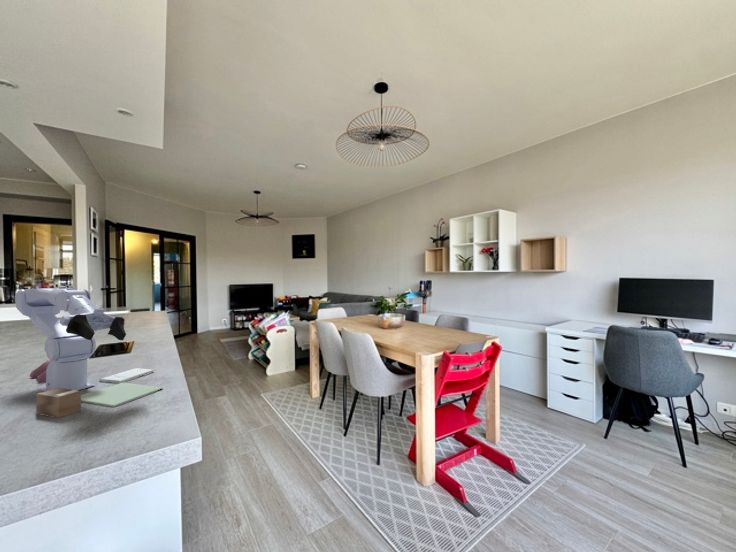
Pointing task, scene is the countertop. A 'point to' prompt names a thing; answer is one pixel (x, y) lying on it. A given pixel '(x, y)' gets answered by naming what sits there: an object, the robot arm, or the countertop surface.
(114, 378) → the external hard drive
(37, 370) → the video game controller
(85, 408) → the countertop surface
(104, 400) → the sage mat
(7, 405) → the countertop surface
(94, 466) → the countertop surface
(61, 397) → the labeled brown box
